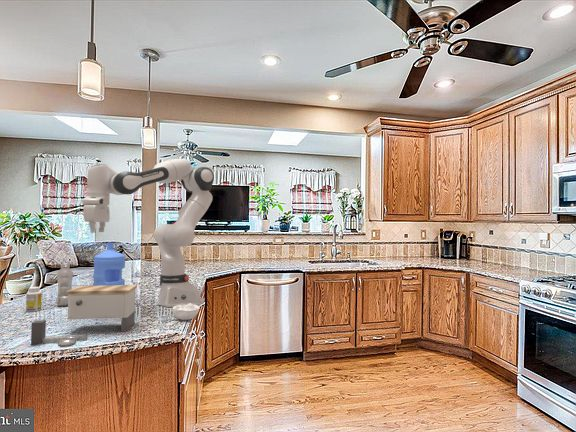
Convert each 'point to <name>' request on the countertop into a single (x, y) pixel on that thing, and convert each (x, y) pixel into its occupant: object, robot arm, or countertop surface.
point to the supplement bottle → (34, 299)
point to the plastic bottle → (64, 284)
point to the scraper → (39, 337)
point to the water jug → (108, 267)
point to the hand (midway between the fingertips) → (97, 232)
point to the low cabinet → (103, 303)
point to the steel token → (67, 342)
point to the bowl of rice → (185, 311)
